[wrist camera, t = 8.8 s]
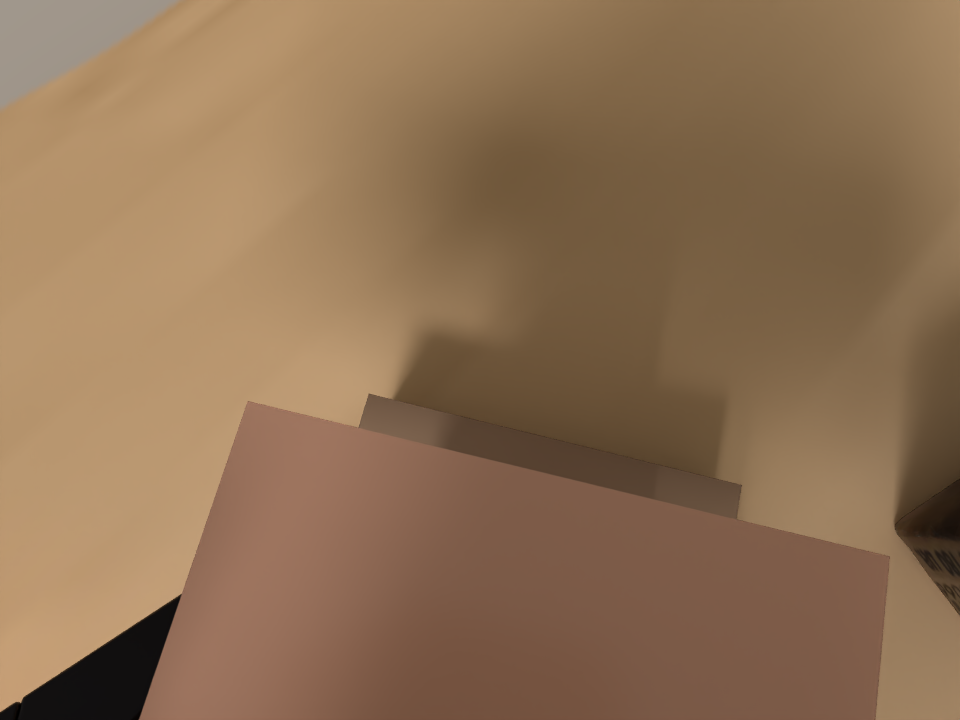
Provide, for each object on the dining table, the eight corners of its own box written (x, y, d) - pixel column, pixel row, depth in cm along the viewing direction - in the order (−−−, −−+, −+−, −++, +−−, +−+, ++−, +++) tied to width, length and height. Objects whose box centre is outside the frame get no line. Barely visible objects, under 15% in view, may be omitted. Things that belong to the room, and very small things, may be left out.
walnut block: (645, 868, 17) (670, 934, 15) (289, 755, 19) (247, 796, 16) (709, 492, 20) (741, 485, 17) (389, 413, 21) (368, 393, 18)
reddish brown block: (607, 836, 14) (806, 1491, 4) (336, 754, 15) (-12, 1161, 5) (657, 548, 15) (890, 557, 6) (409, 486, 16) (247, 401, 6)
